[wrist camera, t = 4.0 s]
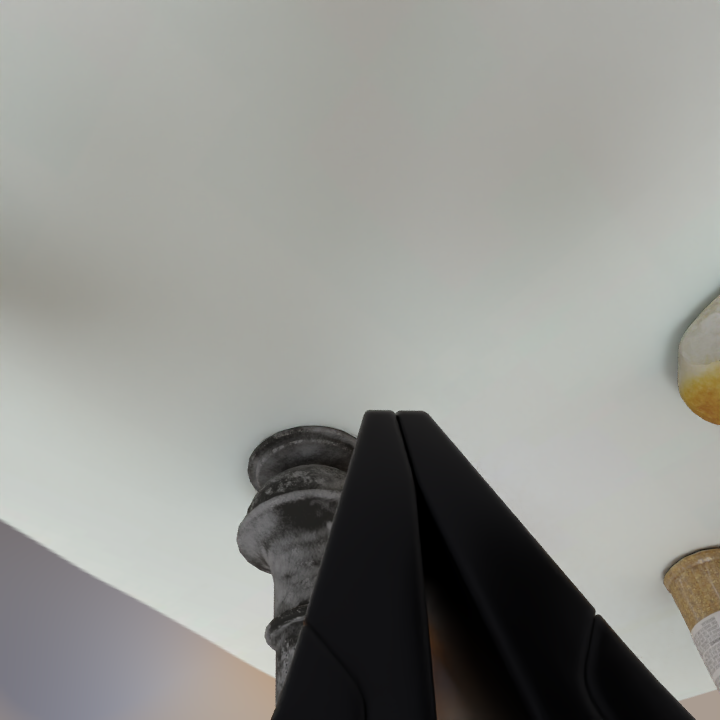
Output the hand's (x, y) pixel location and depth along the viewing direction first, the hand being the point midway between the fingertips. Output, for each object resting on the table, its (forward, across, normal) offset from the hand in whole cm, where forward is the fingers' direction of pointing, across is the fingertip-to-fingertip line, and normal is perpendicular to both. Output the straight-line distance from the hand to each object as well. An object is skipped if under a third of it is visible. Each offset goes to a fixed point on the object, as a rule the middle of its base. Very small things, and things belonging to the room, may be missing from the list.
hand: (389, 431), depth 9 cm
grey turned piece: (+12, 0, +15) cm, 19 cm away
